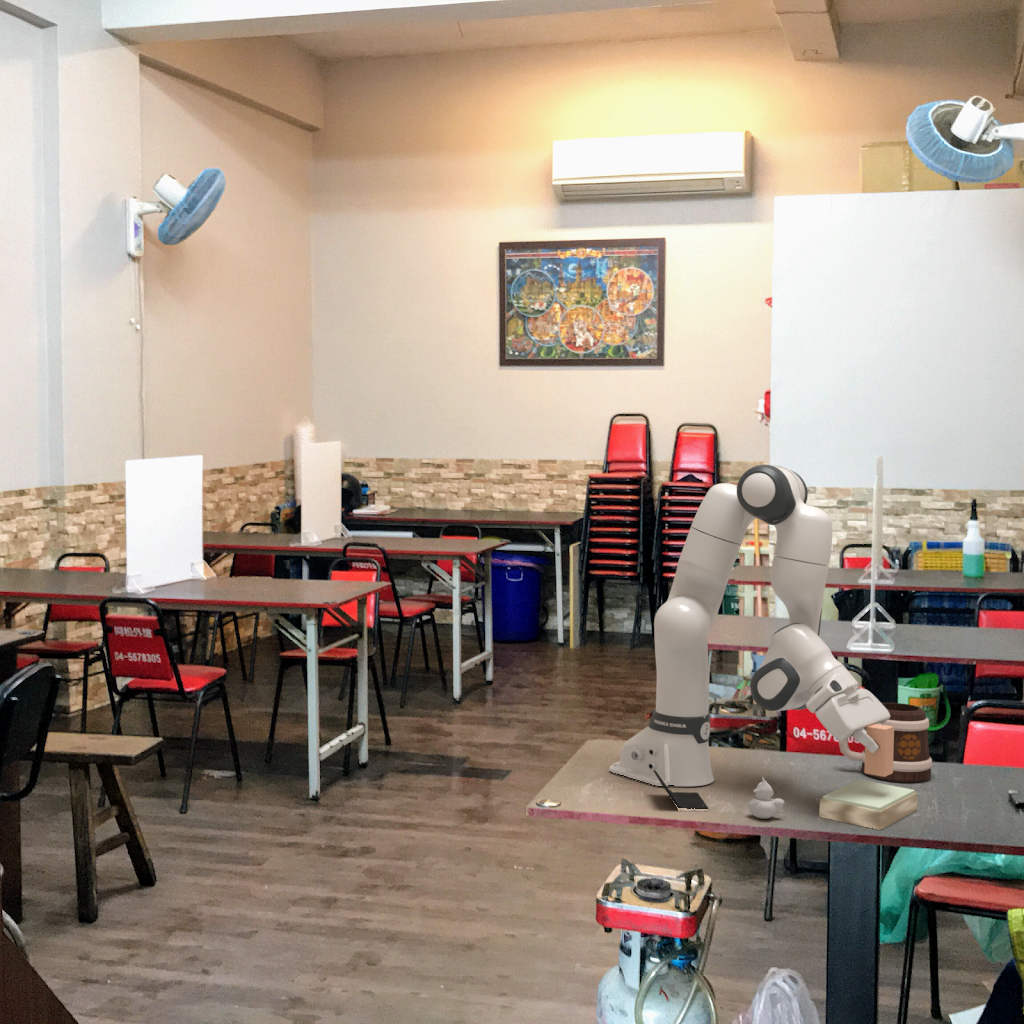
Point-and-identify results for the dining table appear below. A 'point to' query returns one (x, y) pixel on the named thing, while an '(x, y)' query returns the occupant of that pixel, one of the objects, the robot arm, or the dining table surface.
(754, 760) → the dining table surface
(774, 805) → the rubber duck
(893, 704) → the mug
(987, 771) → the dining table surface
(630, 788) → the dining table surface
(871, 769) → the terracotta block
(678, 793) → the handheld gaming console
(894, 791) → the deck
